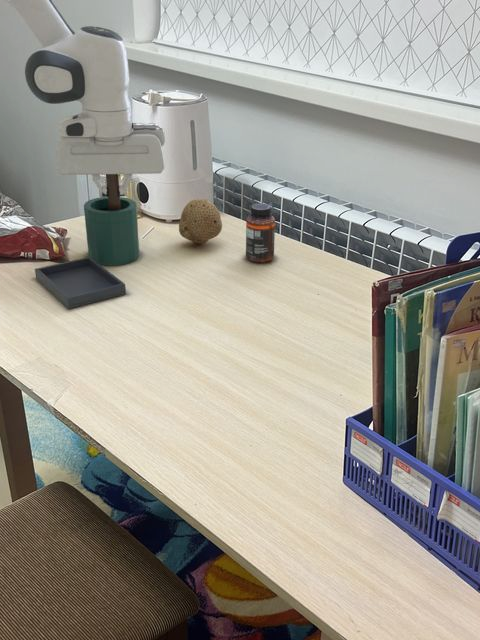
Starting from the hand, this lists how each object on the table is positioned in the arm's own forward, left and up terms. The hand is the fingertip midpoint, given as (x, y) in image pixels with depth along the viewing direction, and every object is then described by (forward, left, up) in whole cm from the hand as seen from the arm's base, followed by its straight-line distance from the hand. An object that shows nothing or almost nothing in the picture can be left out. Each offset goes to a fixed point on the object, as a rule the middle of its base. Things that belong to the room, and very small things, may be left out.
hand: (113, 195), depth 136 cm
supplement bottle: (+15, +25, -13) cm, 32 cm away
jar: (-2, 0, -13) cm, 13 cm away
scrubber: (0, 0, -11) cm, 11 cm away
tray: (+8, -12, -13) cm, 20 cm away
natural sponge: (+2, +19, -13) cm, 23 cm away
